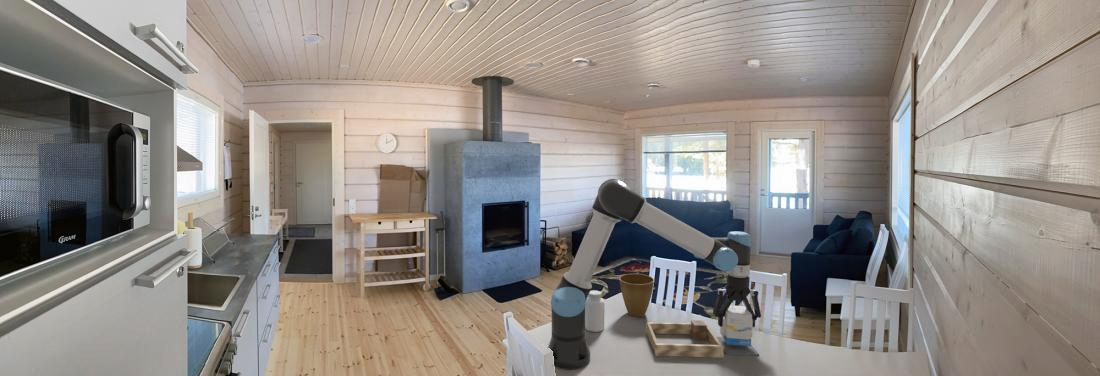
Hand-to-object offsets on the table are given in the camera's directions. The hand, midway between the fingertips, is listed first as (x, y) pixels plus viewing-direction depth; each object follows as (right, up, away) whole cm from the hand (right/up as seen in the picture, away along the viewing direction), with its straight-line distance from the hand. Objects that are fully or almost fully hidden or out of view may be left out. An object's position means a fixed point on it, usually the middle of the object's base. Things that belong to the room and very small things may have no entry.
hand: (735, 335), depth 148 cm
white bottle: (-50, -4, +17) cm, 53 cm away
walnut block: (-11, -4, +8) cm, 14 cm away
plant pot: (-30, -2, +31) cm, 43 cm away
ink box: (0, -2, 0) cm, 2 cm away
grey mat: (0, -4, 0) cm, 4 cm away
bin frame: (-19, -4, +3) cm, 19 cm away
